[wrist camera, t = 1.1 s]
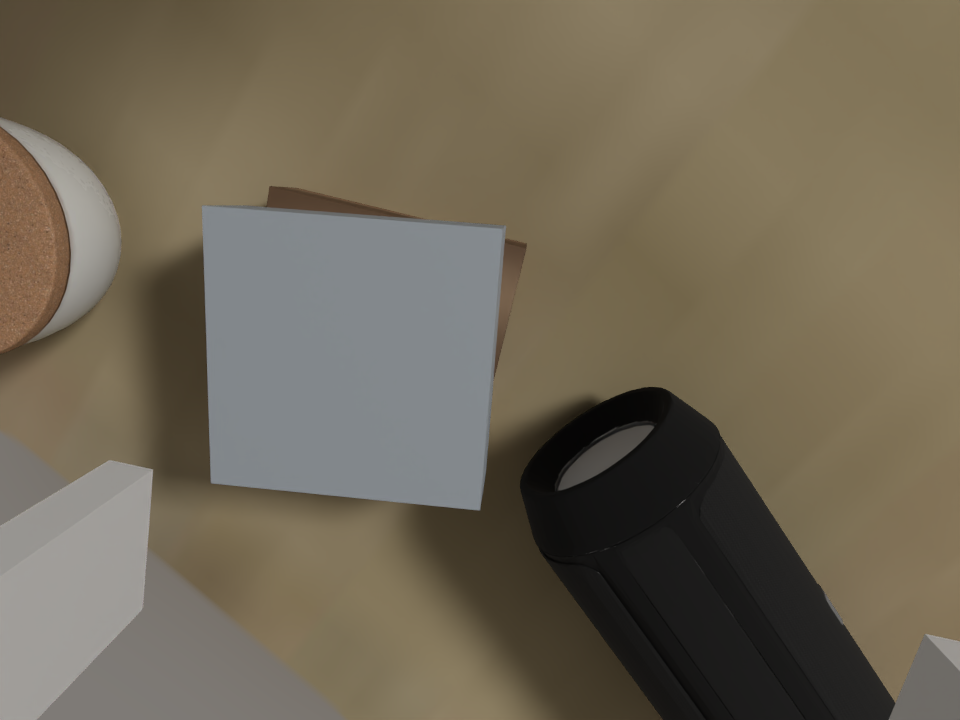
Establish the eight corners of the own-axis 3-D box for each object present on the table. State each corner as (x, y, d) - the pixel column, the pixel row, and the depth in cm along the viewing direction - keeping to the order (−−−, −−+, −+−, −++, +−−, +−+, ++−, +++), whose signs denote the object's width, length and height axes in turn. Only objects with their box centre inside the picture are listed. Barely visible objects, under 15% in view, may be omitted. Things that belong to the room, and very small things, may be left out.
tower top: (245, 205, 29) (202, 205, 25) (505, 225, 29) (502, 228, 25) (249, 449, 32) (210, 483, 28) (485, 473, 31) (480, 510, 28)
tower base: (300, 188, 33) (269, 186, 29) (526, 243, 33) (526, 248, 29) (267, 403, 36) (235, 427, 32) (474, 454, 36) (467, 485, 32)
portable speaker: (895, 709, 37) (1025, 888, 27) (742, 779, 39) (813, 970, 29) (663, 355, 33) (719, 418, 23) (506, 453, 35) (498, 548, 25)
